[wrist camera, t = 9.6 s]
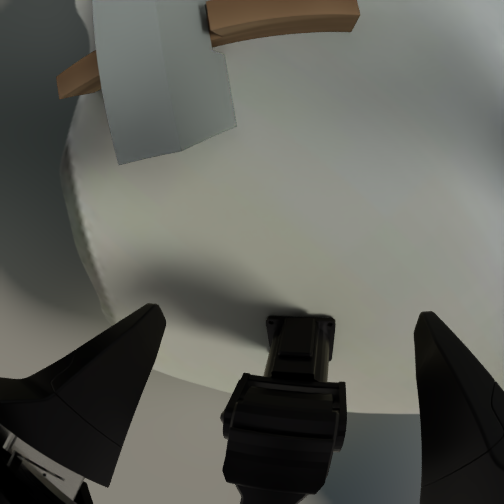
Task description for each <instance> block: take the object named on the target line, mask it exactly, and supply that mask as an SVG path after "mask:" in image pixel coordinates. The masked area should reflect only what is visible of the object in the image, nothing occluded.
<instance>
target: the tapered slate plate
mask: <svg viewBox="0 0 504 504" xmlns="http://www.w3.org/2000/svg"><path fill="white" fill-rule="evenodd" d="M206 1H210V0H92V5H93V23H94V35H95V45H96V54H97V62H98V69H99V75H100V82H101V88H102V93H103V99H104V104H105V109H106V114H107V119H108V123H109V128H110V132H111V137H112V141H113V145H114V149H115V153H116V157H117V160H118V164H119V165H122V164H126V163H130V162H134V161H138V160H142V159H146V158H151V157H155V156H160V155H165V154H170V153H175V152H180V151H183V150H185V149H187V148H189V147H191V146H193V145H195V144H198V143H200V142H202V141H204V140H206V139H209V138H211V137H213V136H215V135H218V134H220V133H222V132H225V131H227V130H229V129H232V128H234V127H237V125H236V119H235V114H234V108H233V102H232V96H231V90H230V84H229V78H228V72H227V66H226V61H225V55H224V54H222V53H219V52H216V51H214V50H212V45H211V39H210V34H209V28H208V22H207V16H206V14H207V13H208V12H207V6H206Z"/></svg>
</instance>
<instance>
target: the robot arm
mask: <svg viewBox="0 0 504 504" xmlns="http://www.w3.org/2000/svg"><path fill="white" fill-rule="evenodd" d="M266 326H267V332H268V338H269V344H270V352H269V356H268V360H267V364H266V368H265V372H264V376H257V375H250V373H243V375H242V378H241V380H239V381H238V383H237V386H236V388H235V390H234V392H233V394H232V396H231V398H230V400H229V402H228V404H227V406H226V408H225V410H224V411H223V412H222V414H221V417H220V419H221V421H222V422H223V436H224V438H225V439H228V443H227V450H226V457H225V461H224V465H223V473H224V477H225V480H226V482H228V483H232V484H235V485H236V487H237V489H238V491H239V493H240V494H241V502H240V504H298V503H299V502H300V501H302V500H303V499H304V498H305V497H306V496H307V495H309V494H316V493H317V492H318V491H319V490H320V489H321V487H322V486H323V485H324V483H325V479H326V477H327V475H328V472H329V468H330V464H331V459H332V455H333V452H339V451H340V450H341V448H342V446H343V442H344V438H345V432H346V424H347V405H346V385H345V382H339V383H335V382H327V378H328V363H329V361H331V359H332V352H333V344H334V334H335V319H333V318H314V317H282V316H269V317H267V320H266ZM165 327H166V319H165V317H164V315H163V313H162V311H161V309H160V307H159V305H157V304H152V303H148V304H146V305H144V306H143V307H141V308H140V309H138V310H136V311H135V312H133V313H132V314H130V315H129V316H127V317H125V318H124V319H122V320H121V321H119V322H118V323H116V324H115V325H113V326H111V327H110V328H108V329H107V330H105V331H104V332H102V333H101V334H99V335H97V336H96V337H94V338H93V339H91V340H90V341H88V342H87V343H85V344H83V345H82V346H81V347H79V348H77V349H76V350H74V351H73V352H71V353H70V354H68V355H66V356H65V357H63V358H62V359H60V360H58V361H57V362H55V363H53V364H51V365H50V366H48V367H46V368H44V369H42V370H41V371H39V372H37V373H35V374H33V375H31V376H29V377H27V378H24V379H9V378H1V377H0V504H93V501H92V499H91V496H90V492H89V490H88V486H87V483H86V482H84V479H85V478H87V479H89V480H91V481H93V482H96V483H98V484H100V485H103V486H105V487H107V488H108V487H109V485H110V482H111V479H112V476H113V473H114V470H115V467H116V464H117V461H118V458H119V455H120V452H121V449H122V446H123V443H124V440H125V437H126V434H127V432H128V429H129V427H130V423H131V421H132V418H133V416H134V413H135V410H136V408H137V405H138V403H139V400H140V397H141V394H142V392H143V390H144V387H145V385H146V382H147V380H148V377H149V375H150V372H151V370H152V367H153V365H154V362H155V360H156V357H157V353H158V350H159V347H160V343H161V340H162V337H163V334H164V330H165ZM414 345H415V363H416V381H417V389H418V398H419V408H420V419H421V420H420V421H421V440H422V477H421V495H420V504H504V391H503V390H502V388H501V387H500V386H499V385H498V383H497V382H496V381H495V380H494V378H493V377H492V376H491V375H490V374H489V372H488V371H487V370H486V369H485V368H484V366H483V365H482V364H481V363H480V362H479V361H478V359H477V358H476V357H475V356H474V355H473V354H472V353H471V351H470V350H469V349H468V348H467V347H466V346H465V345H464V344H463V342H462V341H461V340H460V339H459V338H458V337H457V336H456V335H455V334H454V333H453V332H452V331H451V330H450V329H449V327H448V326H447V325H446V324H445V323H444V322H443V321H442V320H441V319H440V318H439V317H438V316H437V315H436V314H435V313H434V312H432V311H426V312H421V313H420V315H419V318H418V321H417V324H416V327H415V330H414Z"/></svg>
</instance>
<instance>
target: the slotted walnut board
mask: <svg viewBox="0 0 504 504" xmlns="http://www.w3.org/2000/svg"><path fill="white" fill-rule="evenodd" d="M206 6H207V12H208V13H207V14H206V16H207V22H208V28H209V34H210V39H211V45H212V47H216V46H220V45H224V44H229V43H234V42H239V41H244V40H249V39H255V38H262V37H268V36H276V35H285V34H296V33H310V32H351V31H352V29H353V28H354V26H355V24H356V22H357V20H358V18H359V16H360V12H359V8H358V4H357V0H210V1H206ZM56 79H57V87H58V93H59V99H63V98H68V97H72V96H78V95H83V94H89V93H94V92H96V91H98V90H100V89H102V88H101V82H100V75H99V69H98V62H97V54H96V50H95V51H93V52H92V53H90V54H88V55H87V56H85V57H84V58H82V59H81V60H80V61H78V62H76V63H75V64H73V65H72V66H71V67H69V68H68V69H66V70H65V71H63V72H62V73H61V74H60V75H58V76H57V77H56Z"/></svg>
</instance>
